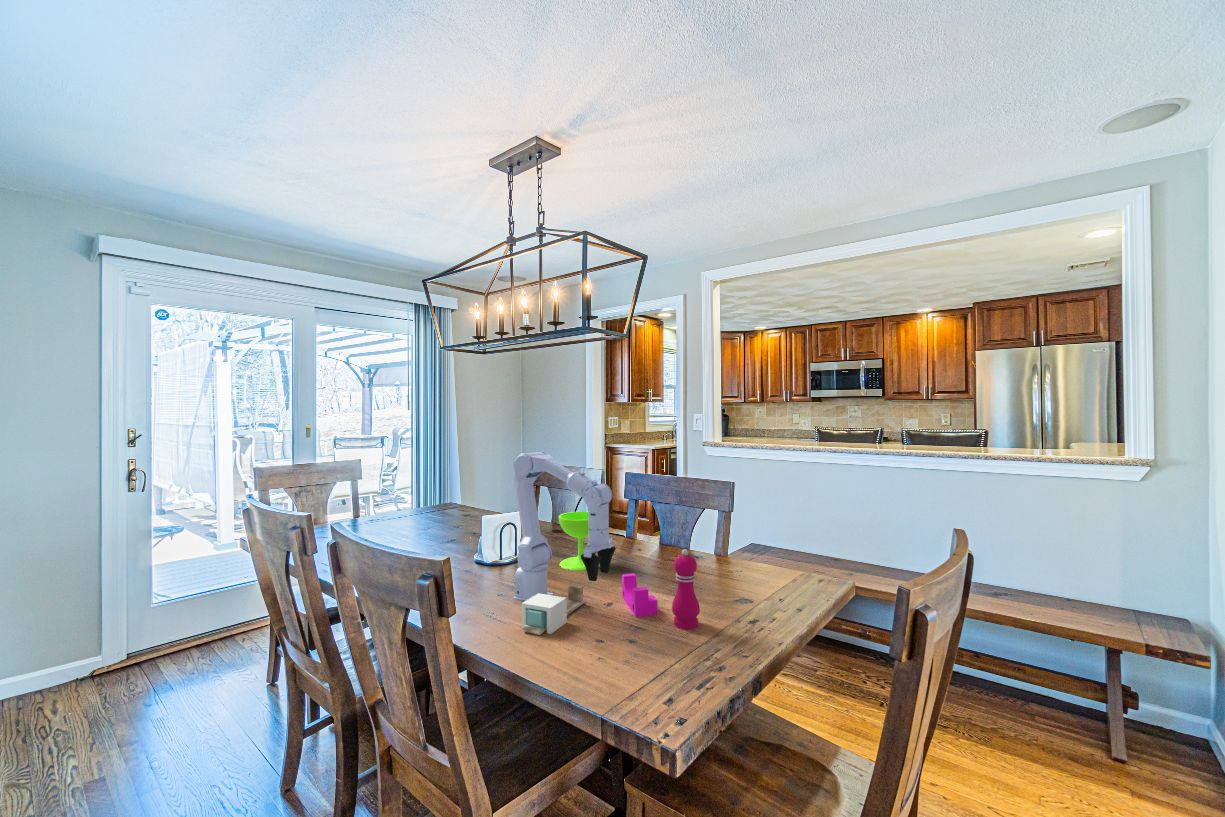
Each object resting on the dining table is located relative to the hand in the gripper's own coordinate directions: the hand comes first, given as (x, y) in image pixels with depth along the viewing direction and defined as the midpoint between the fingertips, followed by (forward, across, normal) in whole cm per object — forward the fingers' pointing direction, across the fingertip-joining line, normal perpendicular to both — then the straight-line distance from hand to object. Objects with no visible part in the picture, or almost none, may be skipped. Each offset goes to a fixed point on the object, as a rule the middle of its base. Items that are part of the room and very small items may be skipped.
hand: (598, 576), depth 148 cm
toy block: (+10, +8, -9) cm, 16 cm away
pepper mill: (+10, +1, -25) cm, 27 cm away
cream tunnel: (+10, -14, +9) cm, 20 cm away
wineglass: (+10, +38, +26) cm, 47 cm away
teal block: (+9, -17, +9) cm, 21 cm away
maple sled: (+10, -14, +9) cm, 20 cm away
